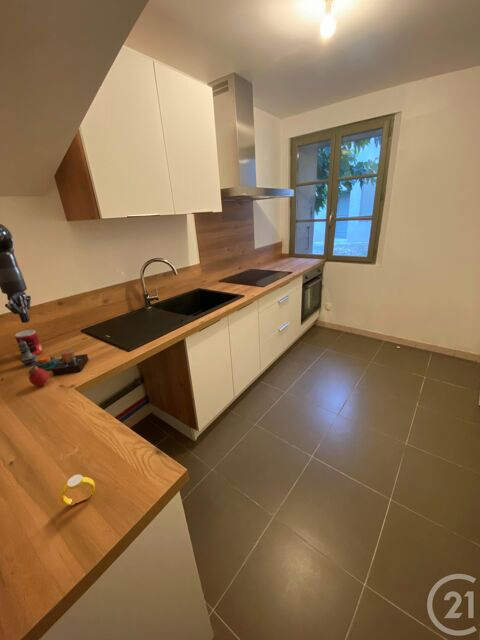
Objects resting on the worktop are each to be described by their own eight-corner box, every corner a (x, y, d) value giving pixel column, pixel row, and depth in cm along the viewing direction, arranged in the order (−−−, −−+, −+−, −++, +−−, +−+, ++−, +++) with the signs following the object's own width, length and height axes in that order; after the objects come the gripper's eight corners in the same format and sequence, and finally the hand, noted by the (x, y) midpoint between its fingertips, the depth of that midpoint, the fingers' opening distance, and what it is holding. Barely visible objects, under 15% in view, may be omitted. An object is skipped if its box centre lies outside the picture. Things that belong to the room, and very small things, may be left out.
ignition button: (38, 364, 109) (37, 360, 108) (43, 360, 112) (41, 356, 111) (48, 363, 109) (47, 359, 108) (52, 358, 112) (51, 355, 112)
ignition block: (29, 373, 107) (27, 367, 106) (39, 364, 114) (37, 358, 113) (56, 369, 109) (54, 363, 108) (64, 360, 116) (62, 354, 115)
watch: (65, 513, 54) (55, 493, 52) (66, 501, 56) (57, 481, 54) (97, 498, 56) (89, 479, 54) (97, 487, 59) (90, 468, 56)
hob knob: (66, 359, 110) (63, 349, 109) (77, 357, 111) (74, 347, 109) (61, 364, 106) (58, 354, 104) (73, 363, 107) (70, 352, 105)
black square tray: (53, 375, 104) (51, 369, 103) (64, 363, 113) (61, 357, 112) (80, 371, 106) (78, 365, 105) (88, 359, 115) (86, 353, 114)
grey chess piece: (23, 369, 111) (12, 344, 106) (20, 365, 114) (10, 340, 110) (40, 363, 115) (30, 338, 110) (36, 359, 118) (27, 335, 114)
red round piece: (42, 390, 95) (34, 372, 92) (29, 389, 96) (21, 371, 93) (55, 381, 100) (48, 363, 98) (42, 380, 102) (35, 362, 99)
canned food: (37, 349, 129) (29, 328, 125) (46, 351, 125) (38, 330, 121) (19, 356, 122) (10, 335, 118) (29, 359, 119) (20, 337, 115)
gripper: (11, 282, 93) (27, 326, 99) (31, 275, 105) (44, 315, 111) (-13, 283, 92) (5, 329, 98) (10, 277, 104) (25, 317, 110)
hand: (26, 321), depth 105 cm, fingers closed
